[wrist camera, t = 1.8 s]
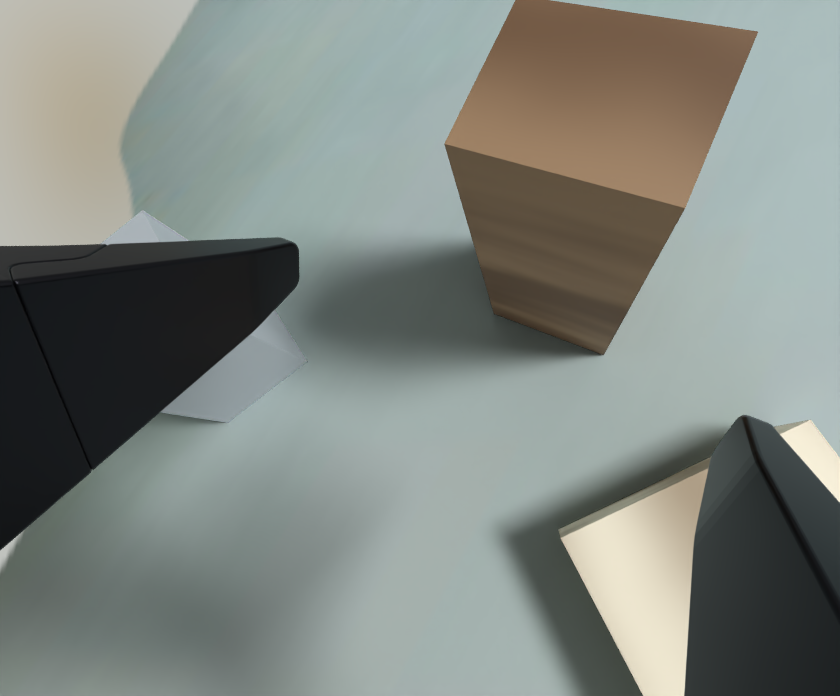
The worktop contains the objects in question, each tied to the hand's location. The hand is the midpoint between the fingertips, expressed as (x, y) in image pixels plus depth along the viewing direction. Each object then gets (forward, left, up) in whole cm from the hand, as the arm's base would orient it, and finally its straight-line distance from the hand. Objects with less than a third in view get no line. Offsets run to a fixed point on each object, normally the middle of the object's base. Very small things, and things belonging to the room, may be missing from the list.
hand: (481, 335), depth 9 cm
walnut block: (+4, +4, -12) cm, 13 cm away
